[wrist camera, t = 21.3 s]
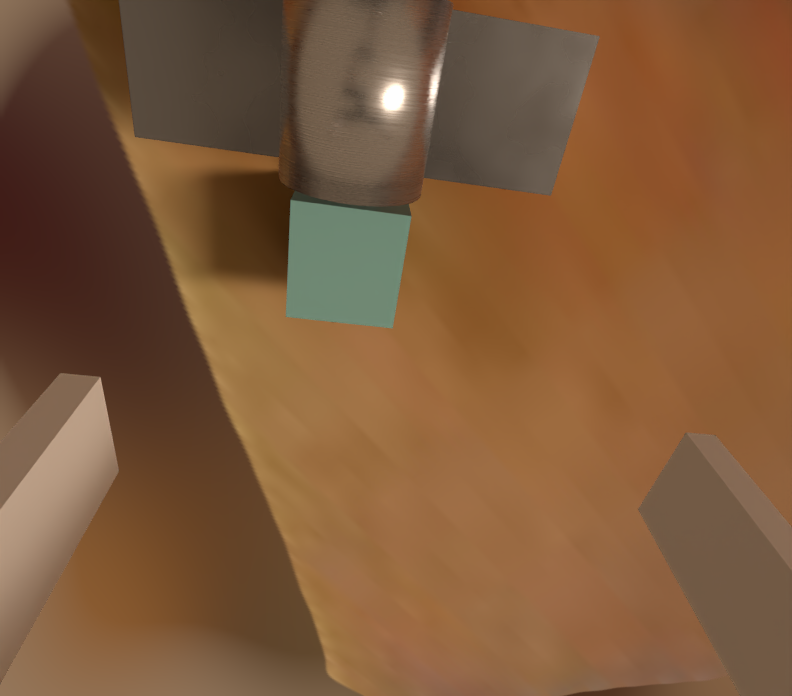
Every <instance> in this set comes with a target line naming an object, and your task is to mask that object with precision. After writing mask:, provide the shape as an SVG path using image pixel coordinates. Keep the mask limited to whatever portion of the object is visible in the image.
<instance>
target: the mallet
mask: <svg viewBox="0 0 792 696" xmlns="http://www.w3.org/2000/svg"><path fill="white" fill-rule="evenodd" d="M410 222H411V212H410V208H409V204H405V205H399V206H386V207H376V206H359V205H350V204H343V203H337V202H332V201H327V200H322V199H318V198H315V197H311V196H308V195H305V194H302V193H299V192H297V191H294V194H293V196H292V198H291V201H290V227H289V252H288V278H287V303H286V317H292V318H302V319H311V320H320V321H330V322H339V323H348V324H357V325H367V326H376V327H385V328H393V323H394V317H395V311H396V305H397V299H398V293H399V287H400V281H401V275H402V269H403V263H404V257H405V251H406V245H407V239H408V233H409V228H410Z"/></svg>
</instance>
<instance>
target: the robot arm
mask: <svg viewBox="0 0 792 696" xmlns="http://www.w3.org/2000/svg"><path fill="white" fill-rule="evenodd" d="M118 472H119V469H118V465H117V459H116V454H115V449H114V444H113V440H112V434H111V429H110V424H109V419H108V414H107V409H106V403H105V398H104V393H103V389H102V383H101V378H100V377H94V376H83V375H72V374H63V373H61V374H59V376H58V377H57V378H56V379H55V380H54V381H53V382H52V384H51V385H50V386H49V387H48V388H47V389H46V390H45V392H44V393H43V394H42V395H41V396H40V397H39V398H38V400H37V401H36V402H35V403H34V404H33V405H32V406H31V408H30V409H29V410H28V411H27V412H26V413H25V414H24V416H23V417H22V418H21V419H20V420H19V421H18V422H17V424H16V425H15V426H14V427H13V428H12V429H11V430H10V432H9V433H8V434H7V435H6V436H5V437H4V438H3V440H2V441H1V442H0V684H1V682H2V680H3V678H4V676H5V675H6V673H7V671H8V669H9V667H10V666H11V664H12V662H13V660H14V658H15V657H16V655H17V653H18V651H19V649H20V648H21V646H22V644H23V642H24V640H25V639H26V637H27V635H28V633H29V632H30V630H31V628H32V626H33V624H34V622H35V621H36V619H37V617H38V615H39V614H40V612H41V610H42V608H43V606H44V605H45V603H46V601H47V599H48V597H49V596H50V594H51V592H52V590H53V588H54V587H55V584H56V583H57V581H58V579H59V577H60V576H61V574H62V572H63V570H64V569H65V567H66V565H67V563H68V561H69V560H70V558H71V556H72V554H73V552H74V551H75V549H76V547H77V545H78V543H79V541H80V540H81V538H82V536H83V535H84V533H85V531H86V529H87V527H88V526H89V524H90V522H91V520H92V518H93V517H94V515H95V513H96V511H97V509H98V508H99V506H100V504H101V502H102V500H103V498H104V497H105V495H106V493H107V491H108V490H109V488H110V486H111V484H112V482H113V481H114V479H115V477H116V475H117V473H118ZM638 510H639V512H640V514H641V516H642V517H643V519H644V521H645V523H646V525H647V527H648V528H649V530H650V532H651V534H652V536H653V538H654V539H655V541H656V543H657V545H658V547H659V549H660V550H661V552H662V554H663V556H664V558H665V559H666V561H667V563H668V565H669V567H670V569H671V570H672V572H673V574H674V576H675V578H676V580H677V581H678V583H679V585H680V587H681V589H682V591H683V592H684V594H685V596H686V598H687V600H688V601H689V603H690V605H691V607H692V609H693V611H694V612H695V614H696V616H697V618H698V620H699V622H700V623H701V625H702V627H703V629H704V631H705V633H706V634H707V636H708V638H709V640H710V642H711V643H712V645H713V647H714V649H715V651H716V653H717V654H718V656H719V658H720V660H721V662H722V664H723V665H724V667H725V669H726V671H727V673H728V675H729V676H730V678H731V680H732V682H733V684H734V685H735V687H736V689H737V691H738V693H739V695H740V696H792V527H791V526H790V524H789V523H788V522H787V521H786V520H785V518H784V517H783V516H782V515H781V514H780V512H779V511H778V510H777V509H776V508H775V506H774V505H773V504H772V503H771V502H770V500H769V499H768V498H767V497H766V496H765V494H764V493H763V492H762V491H761V490H760V488H759V487H758V486H757V485H756V484H755V482H754V481H753V480H752V479H751V478H750V476H749V475H748V474H747V473H746V472H745V470H744V469H743V468H742V467H741V466H740V464H739V463H738V462H737V461H736V460H735V458H734V457H733V456H732V455H731V453H730V452H729V451H728V450H727V449H726V447H725V446H724V445H723V444H722V443H721V441H720V440H719V439H718V438H717V437H716V435H706V434H696V433H685V435H684V437H683V438H682V440H681V441H680V443H679V445H678V446H677V448H676V449H675V451H674V453H673V454H672V456H671V457H670V459H669V461H668V462H667V464H666V465H665V467H664V469H663V470H662V472H661V473H660V475H659V477H658V478H657V480H656V481H655V483H654V485H653V486H652V488H651V489H650V491H649V493H648V494H647V496H646V497H645V499H644V501H643V502H642V504H641V505H640V507H639V509H638Z"/></svg>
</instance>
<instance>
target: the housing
mask: <svg viewBox="0 0 792 696" xmlns="http://www.w3.org/2000/svg"><path fill="white" fill-rule="evenodd" d="M119 7H120V15H121V24H122V32H123V40H124V49H125V57H126V66H127V74H128V83H129V91H130V100H131V108H132V117H133V125H134V134H135V137H139V138H146V139H153V140H161V141H168V142H175V143H182V144H189V145H196V146H203V147H210V148H217V149H224V150H231V151H239V152H246V153H253V154H260V155H267V156H274V157H279V180H280V181H281V182H282V183H283V184H284V185H286V186H287V187H289V188H291V189H293V190H295V191H297V192H299V193H302V194H305V195H308V196H311V197H315V198H318V199H322V200H327V201H332V202H337V203H343V204H350V205H359V206H376V207H386V206H399V205H405V204H410V203H413V202H415V201H417V200H418V199H419V198H420V196H421V190H422V184H423V179H424V178H430V179H437V180H444V181H451V182H458V183H466V184H473V185H480V186H487V187H494V188H501V189H508V190H515V191H522V192H529V193H536V194H544V195H551V193H552V190H553V187H554V184H555V180H556V177H557V174H558V171H559V167H560V164H561V161H562V157H563V154H564V151H565V148H566V144H567V141H568V138H569V135H570V131H571V128H572V125H573V122H574V118H575V115H576V112H577V109H578V105H579V102H580V99H581V96H582V92H583V89H584V86H585V82H586V79H587V76H588V73H589V69H590V66H591V63H592V60H593V56H594V53H595V50H596V47H597V43H598V40H599V37H600V36H595V35H589V34H584V33H578V32H573V31H567V30H562V29H556V28H551V27H545V26H540V25H534V24H529V23H523V22H518V21H512V20H507V19H501V18H496V17H490V16H485V15H479V14H474V13H468V12H463V11H457V10H452V9H453V3H452V2H450V1H447V0H119Z"/></svg>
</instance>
